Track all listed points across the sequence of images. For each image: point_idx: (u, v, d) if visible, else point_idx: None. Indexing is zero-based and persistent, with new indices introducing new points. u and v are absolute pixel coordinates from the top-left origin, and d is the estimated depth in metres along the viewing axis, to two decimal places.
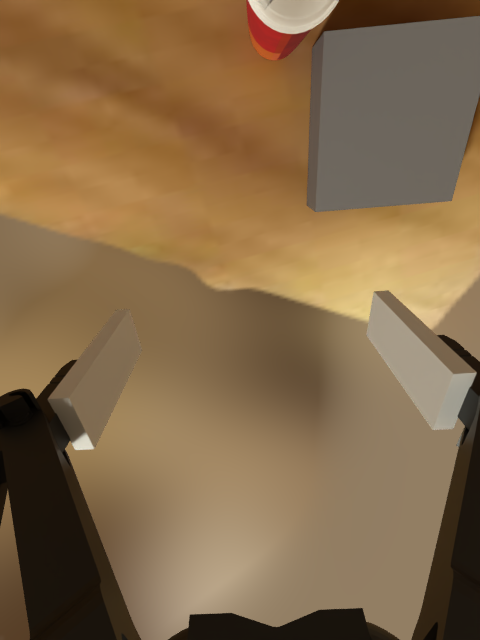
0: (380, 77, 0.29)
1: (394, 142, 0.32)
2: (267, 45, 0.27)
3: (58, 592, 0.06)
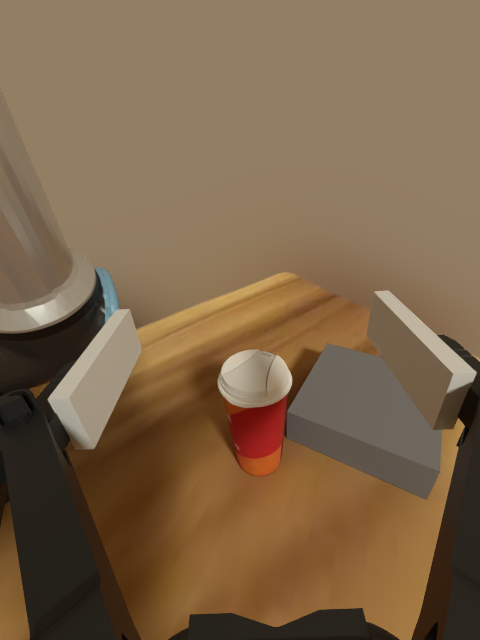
0: (332, 391, 0.39)
1: (381, 394, 0.38)
2: (273, 442, 0.31)
3: (58, 592, 0.06)
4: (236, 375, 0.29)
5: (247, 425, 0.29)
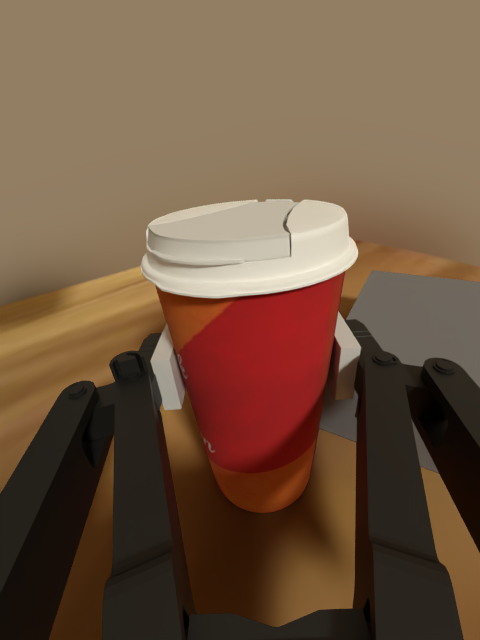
0: (406, 330, 0.19)
1: None
2: (301, 429, 0.12)
3: (138, 541, 0.06)
4: (191, 223, 0.10)
5: (227, 376, 0.10)
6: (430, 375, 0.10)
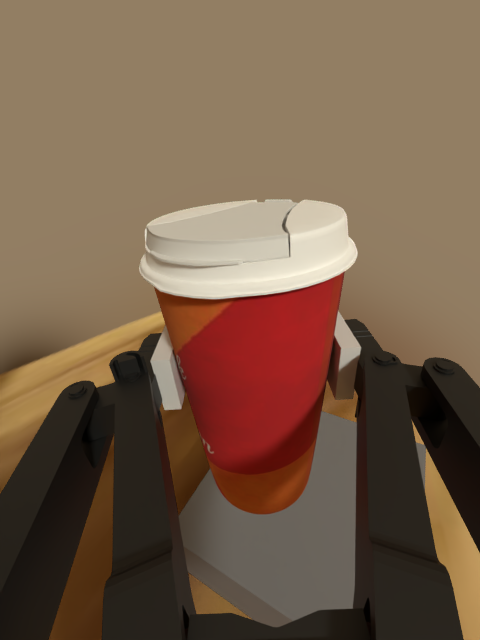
0: None
1: (327, 491, 0.23)
2: (300, 430, 0.12)
3: (138, 541, 0.06)
4: (190, 223, 0.10)
5: (226, 377, 0.10)
6: (430, 375, 0.10)
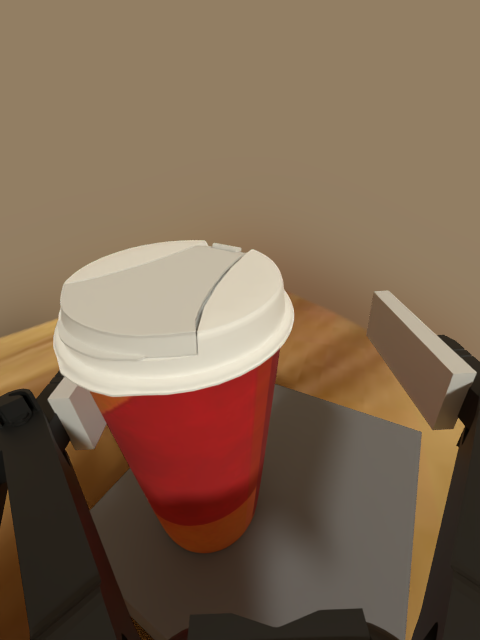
0: None
1: (285, 488, 0.17)
2: (233, 490, 0.11)
3: (58, 592, 0.06)
4: (109, 286, 0.09)
5: (144, 451, 0.09)
6: None
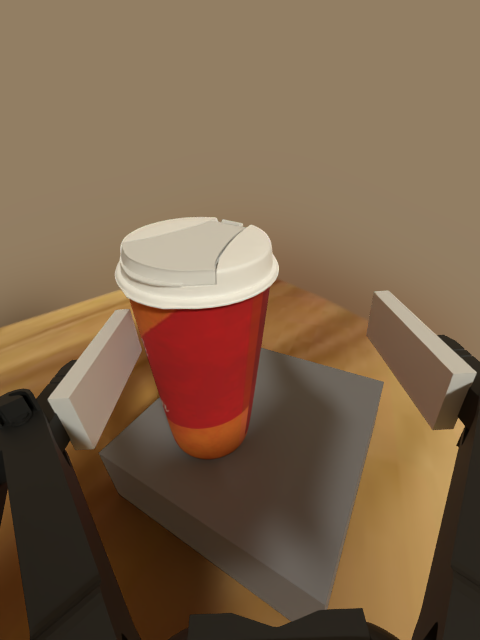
0: None
1: (271, 419, 0.22)
2: (232, 399, 0.16)
3: (58, 592, 0.06)
4: (154, 244, 0.13)
5: (174, 358, 0.13)
6: None
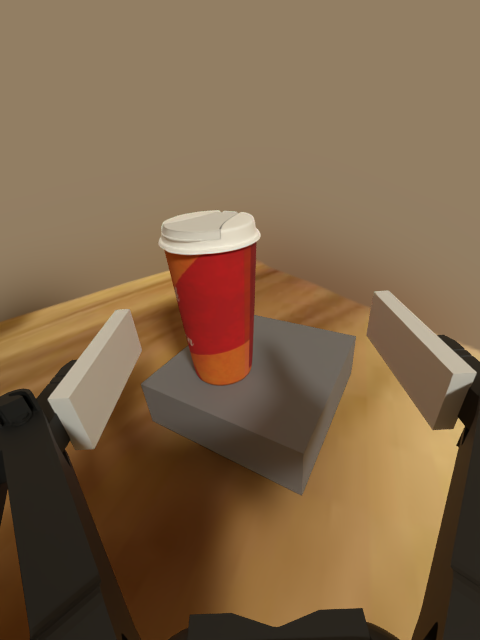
0: None
1: (269, 361, 0.29)
2: (236, 329, 0.23)
3: (58, 592, 0.06)
4: (182, 223, 0.21)
5: (197, 294, 0.21)
6: None
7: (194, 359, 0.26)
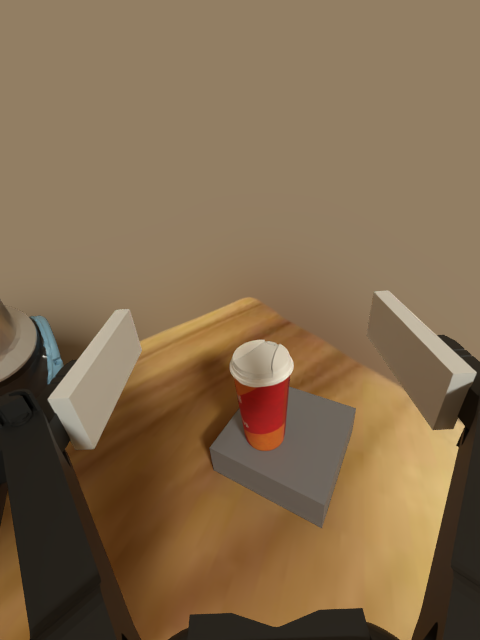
0: None
1: (296, 430, 0.42)
2: (278, 419, 0.36)
3: (58, 592, 0.06)
4: (246, 360, 0.34)
5: (255, 403, 0.34)
6: None
7: (247, 434, 0.39)
